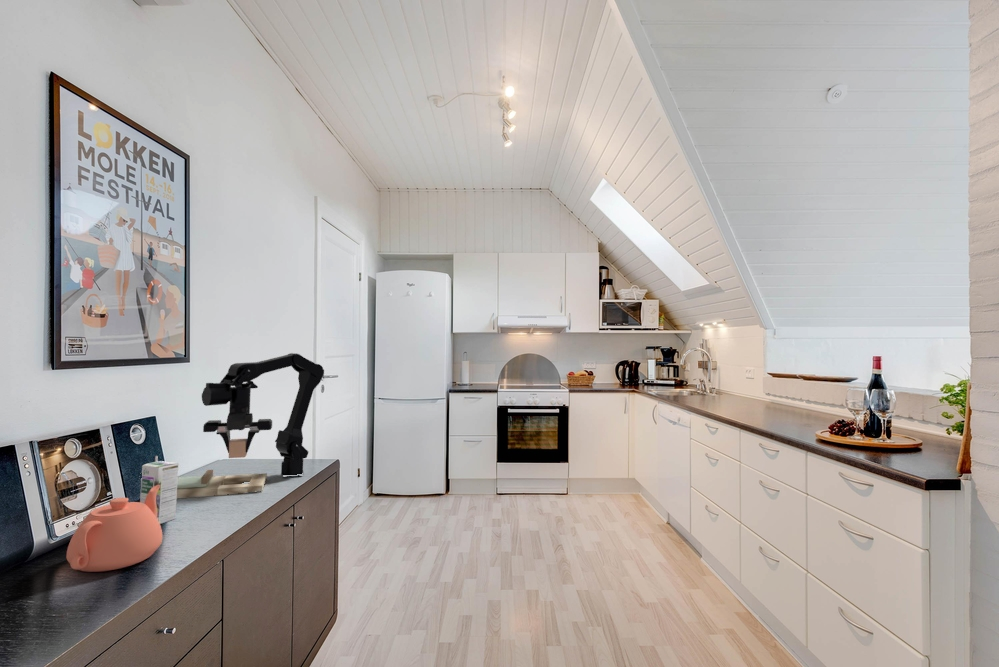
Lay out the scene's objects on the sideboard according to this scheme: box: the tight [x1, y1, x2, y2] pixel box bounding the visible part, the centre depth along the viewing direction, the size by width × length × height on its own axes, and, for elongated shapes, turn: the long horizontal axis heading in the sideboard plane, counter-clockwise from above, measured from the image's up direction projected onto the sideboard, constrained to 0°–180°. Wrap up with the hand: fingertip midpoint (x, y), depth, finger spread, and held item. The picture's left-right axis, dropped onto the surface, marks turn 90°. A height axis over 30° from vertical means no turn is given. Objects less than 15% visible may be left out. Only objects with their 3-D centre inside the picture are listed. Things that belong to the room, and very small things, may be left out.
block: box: [228, 438, 248, 459], centre depth 153 cm, size 4×4×5 cm
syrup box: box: [139, 460, 180, 525], centre depth 123 cm, size 6×6×14 cm
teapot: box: [66, 485, 163, 573], centre depth 102 cm, size 22×16×12 cm
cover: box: [177, 469, 214, 488], centre depth 149 cm, size 11×11×3 cm
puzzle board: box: [177, 472, 268, 499], centre depth 152 cm, size 24×15×2 cm, turn 111°
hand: (238, 452), depth 153 cm, fingers closed on block, 4 cm apart
